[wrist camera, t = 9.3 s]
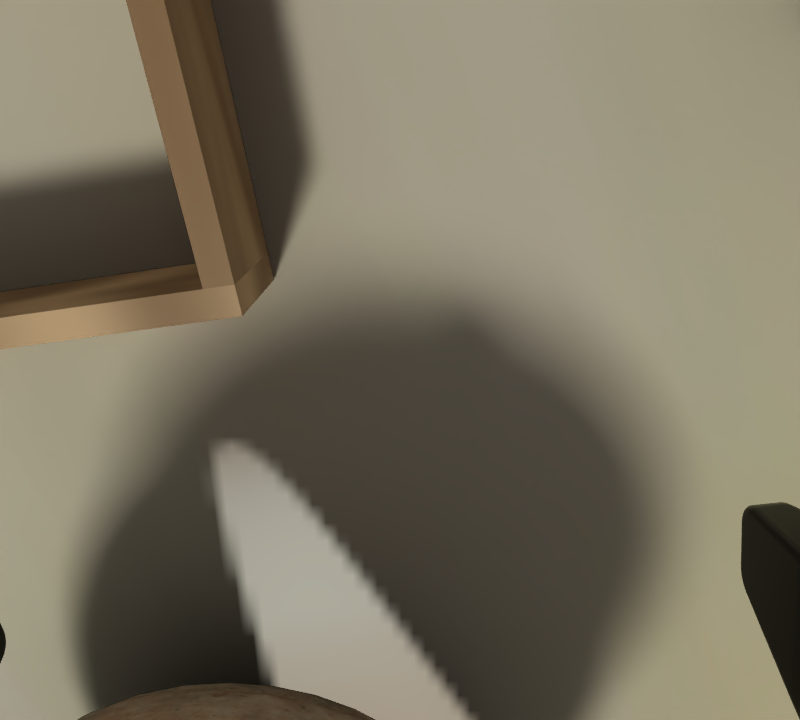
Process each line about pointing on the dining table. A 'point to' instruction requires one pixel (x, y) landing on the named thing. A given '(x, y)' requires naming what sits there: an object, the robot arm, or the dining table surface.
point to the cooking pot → (226, 705)
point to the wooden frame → (197, 191)
